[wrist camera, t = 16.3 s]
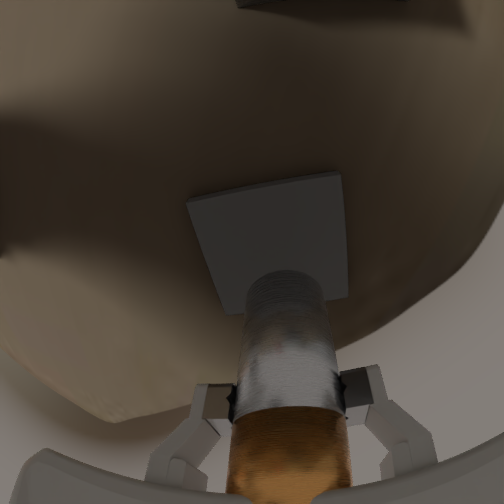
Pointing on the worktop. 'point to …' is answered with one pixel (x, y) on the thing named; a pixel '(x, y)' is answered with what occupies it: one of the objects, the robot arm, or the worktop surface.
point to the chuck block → (249, 0)
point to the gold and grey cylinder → (287, 397)
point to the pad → (273, 234)
